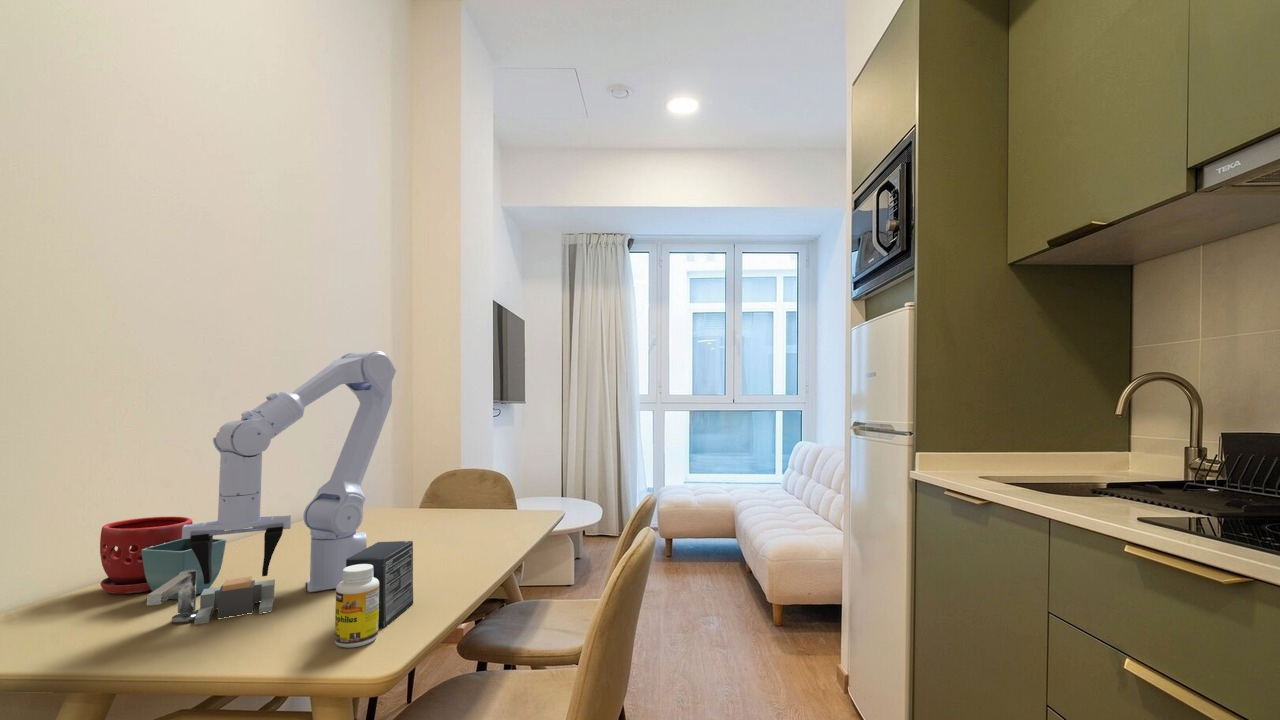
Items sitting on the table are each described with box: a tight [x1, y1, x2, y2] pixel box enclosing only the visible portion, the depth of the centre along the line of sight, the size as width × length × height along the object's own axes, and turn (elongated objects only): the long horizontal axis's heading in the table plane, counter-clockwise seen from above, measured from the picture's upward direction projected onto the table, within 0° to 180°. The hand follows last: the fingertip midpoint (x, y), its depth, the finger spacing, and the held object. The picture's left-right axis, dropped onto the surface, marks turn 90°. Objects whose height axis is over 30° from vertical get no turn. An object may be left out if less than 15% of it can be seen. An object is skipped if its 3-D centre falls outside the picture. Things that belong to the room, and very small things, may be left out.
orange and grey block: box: [217, 576, 256, 619], centre depth 95 cm, size 4×4×5 cm
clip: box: [146, 570, 197, 614], centre depth 87 cm, size 12×2×6 cm, turn 18°
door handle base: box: [171, 610, 199, 625], centre depth 91 cm, size 4×4×1 cm
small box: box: [346, 540, 414, 629], centre depth 93 cm, size 11×6×10 cm, turn 178°
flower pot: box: [141, 538, 227, 601], centre depth 103 cm, size 9×9×9 cm
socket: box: [194, 579, 276, 626], centre depth 96 cm, size 10×8×3 cm
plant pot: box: [99, 516, 194, 595], centre depth 109 cm, size 13×13×12 cm
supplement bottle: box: [334, 564, 379, 649], centre depth 83 cm, size 6×6×10 cm
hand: (236, 578), depth 95 cm, fingers open, 7 cm apart
